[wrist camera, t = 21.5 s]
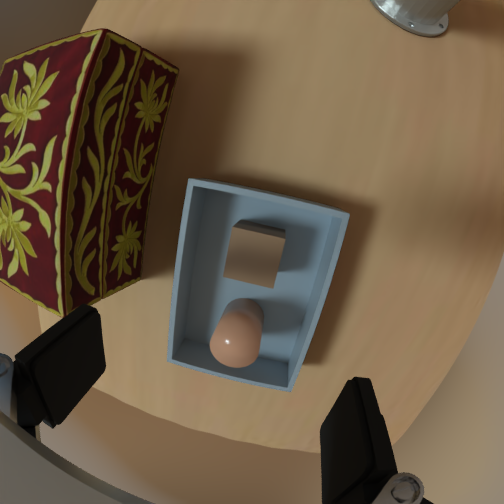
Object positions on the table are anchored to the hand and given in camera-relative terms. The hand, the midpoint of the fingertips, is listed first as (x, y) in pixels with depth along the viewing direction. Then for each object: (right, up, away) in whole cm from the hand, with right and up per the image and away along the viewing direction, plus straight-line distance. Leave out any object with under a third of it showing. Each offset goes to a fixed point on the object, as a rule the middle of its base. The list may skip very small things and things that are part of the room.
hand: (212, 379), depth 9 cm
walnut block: (+2, +5, +22) cm, 23 cm away
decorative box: (-19, +16, +23) cm, 34 cm away
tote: (+1, +1, +24) cm, 24 cm away
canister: (0, -3, +24) cm, 25 cm away
